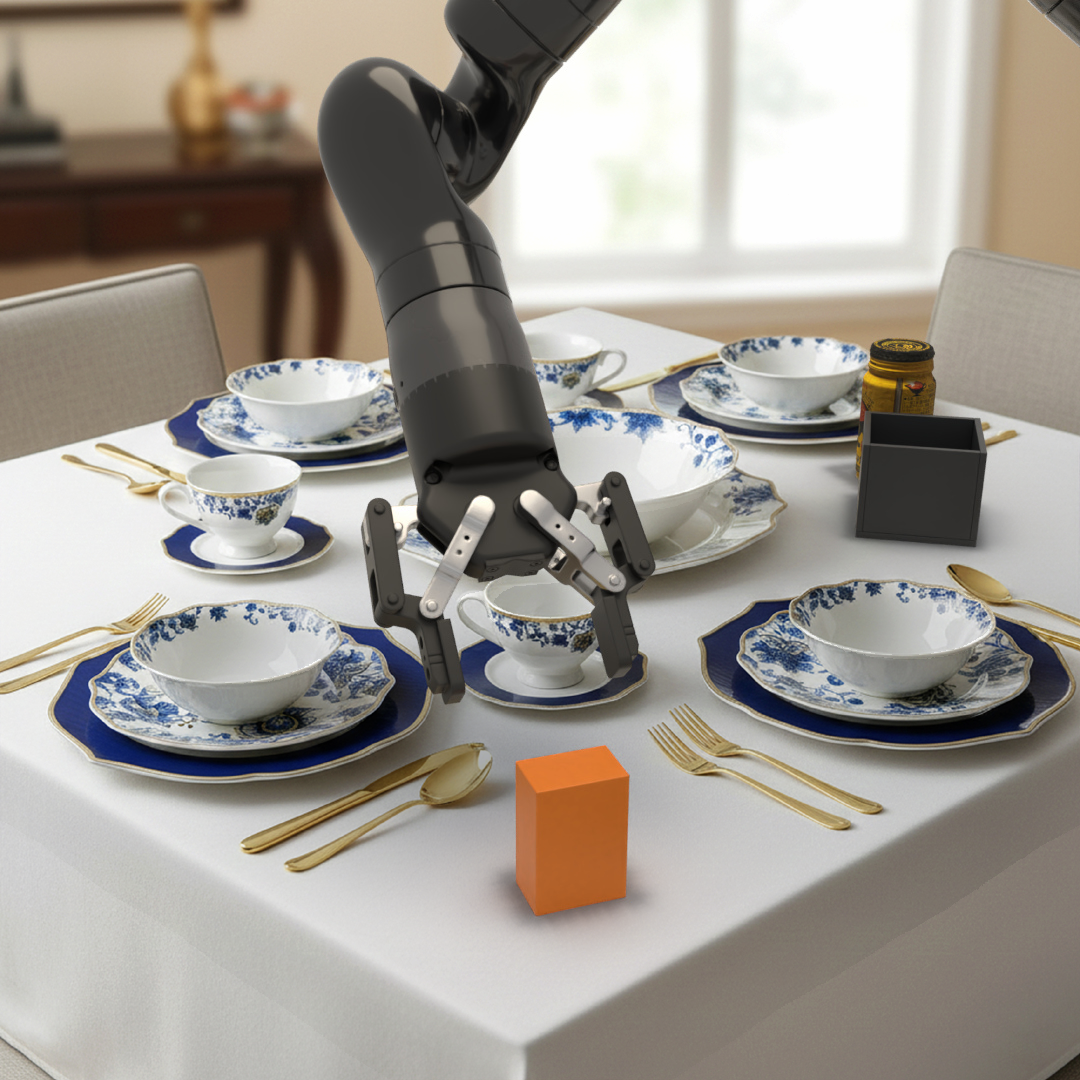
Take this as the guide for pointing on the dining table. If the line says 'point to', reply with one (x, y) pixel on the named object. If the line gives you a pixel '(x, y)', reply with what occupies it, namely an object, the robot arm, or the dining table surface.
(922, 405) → the condiment
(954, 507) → the bin
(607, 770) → the block
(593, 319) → the dining table surface
